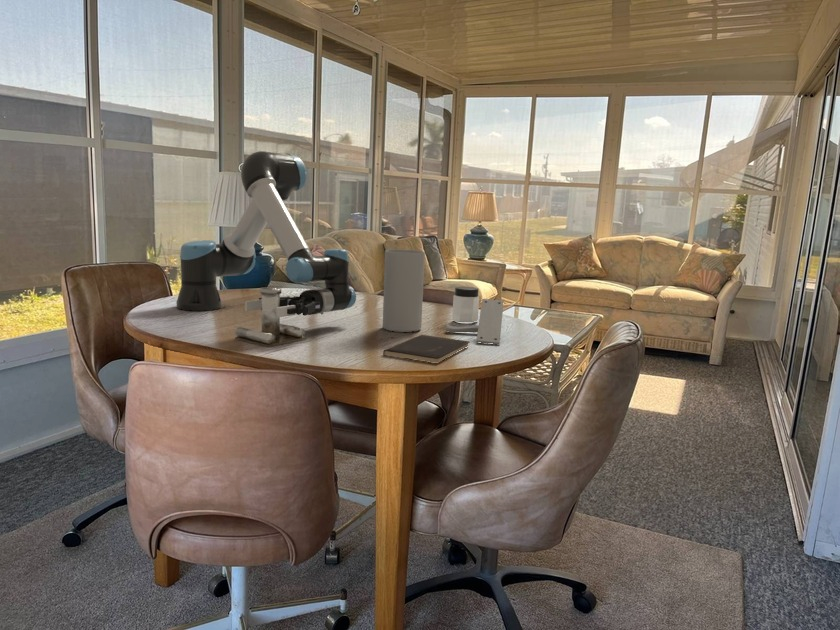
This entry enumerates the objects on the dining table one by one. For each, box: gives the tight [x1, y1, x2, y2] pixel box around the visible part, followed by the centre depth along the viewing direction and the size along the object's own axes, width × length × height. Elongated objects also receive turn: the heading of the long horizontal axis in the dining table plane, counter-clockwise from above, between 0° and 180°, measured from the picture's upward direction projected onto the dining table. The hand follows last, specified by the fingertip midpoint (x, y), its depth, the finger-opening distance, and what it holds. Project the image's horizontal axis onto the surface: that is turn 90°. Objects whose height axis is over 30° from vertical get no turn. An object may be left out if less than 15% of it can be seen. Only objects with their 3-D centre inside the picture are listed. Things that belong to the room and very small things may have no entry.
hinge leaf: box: [234, 323, 307, 348], centre depth 181 cm, size 14×14×3 cm
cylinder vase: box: [382, 249, 426, 333], centre depth 202 cm, size 12×12×25 cm
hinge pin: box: [259, 286, 282, 339], centre depth 180 cm, size 6×6×14 cm
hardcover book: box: [382, 334, 471, 362], centre depth 176 cm, size 16×23×2 cm
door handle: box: [444, 298, 504, 345], centre depth 197 cm, size 18×8×20 cm
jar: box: [451, 286, 480, 322], centre depth 220 cm, size 9×8×12 cm
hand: (261, 309), depth 177 cm, fingers open, 12 cm apart
